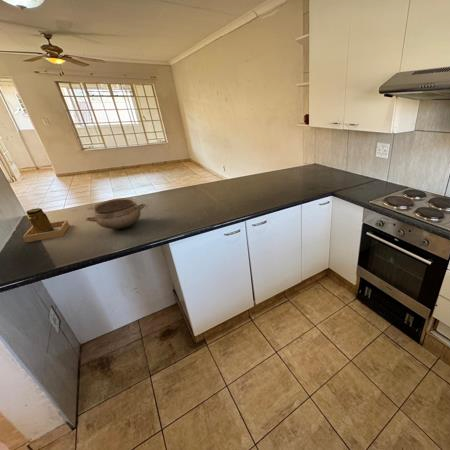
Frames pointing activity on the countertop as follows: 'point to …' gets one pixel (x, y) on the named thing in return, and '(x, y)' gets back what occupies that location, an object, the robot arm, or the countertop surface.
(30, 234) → the tray
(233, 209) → the countertop surface
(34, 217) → the condiment
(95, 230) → the countertop surface
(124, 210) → the cooking pot
